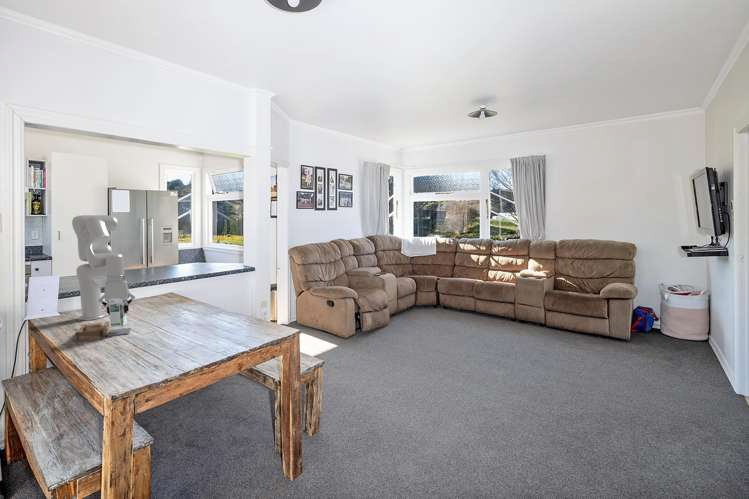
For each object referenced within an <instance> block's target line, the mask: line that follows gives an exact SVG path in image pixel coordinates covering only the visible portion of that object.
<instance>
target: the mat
mask: <svg viewBox="0 0 749 499" xmlns="http://www.w3.org/2000/svg"><path fill="white" fill-rule="evenodd" d="M131 329H132V327H125V328H116V329H109V331H108V332H107V334H106V335H107V336H106V337H117V336H125V335H129V334H130V333H131Z"/></svg>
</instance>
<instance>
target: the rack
mask: <svg viewBox="0 0 749 499" xmlns="http://www.w3.org/2000/svg"><path fill="white" fill-rule="evenodd" d="M87 324H88V323H87ZM87 324H86V323H85V324H82V325H81V326H80V328H79V329H78V330H77V331H76V332H75V342H76V343H77V342H83V341H84V342H85V341H92V340H93V341H94V340H100V339H102V340H103V339H105V338H106V337H107V336H106V335H108V333H109V331H110V322H109V321H106V322H104V323H103V324H102V326H103V327H102V328H101V329H100V330H95V331H86V325H87Z"/></svg>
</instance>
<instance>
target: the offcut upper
mask: <svg viewBox="0 0 749 499" xmlns="http://www.w3.org/2000/svg"><path fill="white" fill-rule="evenodd" d="M102 326H103V322H102V321H100V322H90V323H87V325H86V330H90V329H99V328H101V327H102Z"/></svg>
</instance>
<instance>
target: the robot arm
mask: <svg viewBox="0 0 749 499" xmlns="http://www.w3.org/2000/svg"><path fill="white" fill-rule="evenodd" d="M71 225H72V229H73V231H74V233H75V235H76V238H77V251H78V253H77V254H78V258H79V260H80V261H82V262H87V263H84V264H80V265H78V266H77V267H76V271H75V272H76V276H77V279H78V280H77V281H78V284H79V294H80V297H79V298H80V309H81V315H80V316H78V320H79V321H93V320H98V319H102V318H104V317H106V313H107V314H108V316H110V310H109V299H114V298H122V300H123V301H124V303H125V313H126V314H127V313H128V312H129V311H130V310H129V305H130V303H131V304H132V302H133V301H134V300H135V298H136V296H135V295H133V294H132V293H131V292H130V291H129V285H128V281H127V280H126V279H129V275H125V265H124V264H125V262H124V255H123V254H120V253H119V252H113V249H112V247H111V245H109V243H110V242H111V239H112V237H111V234H110V232H116V231H117V230H118V228H119V221H118V219H117V218H116V217H115V216H113V215H109V214H108V215H106V214H105V215H102V214H101V215H100V214H98V215H97V214H95V215H91V214H90V215H89V214H88V215H84V214H83V215H77V216H73V218H72V221H71ZM102 279H104V280H105V279H106V281H104V282H105V283H104V294H103V295H102V293H101V286H100V285H99V283H97V282H96V280H97V281H98V280H102ZM129 298H130V299H129ZM102 305H103V306H104V307H106V313H104V312H103V308H102V307H103V306H102Z"/></svg>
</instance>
